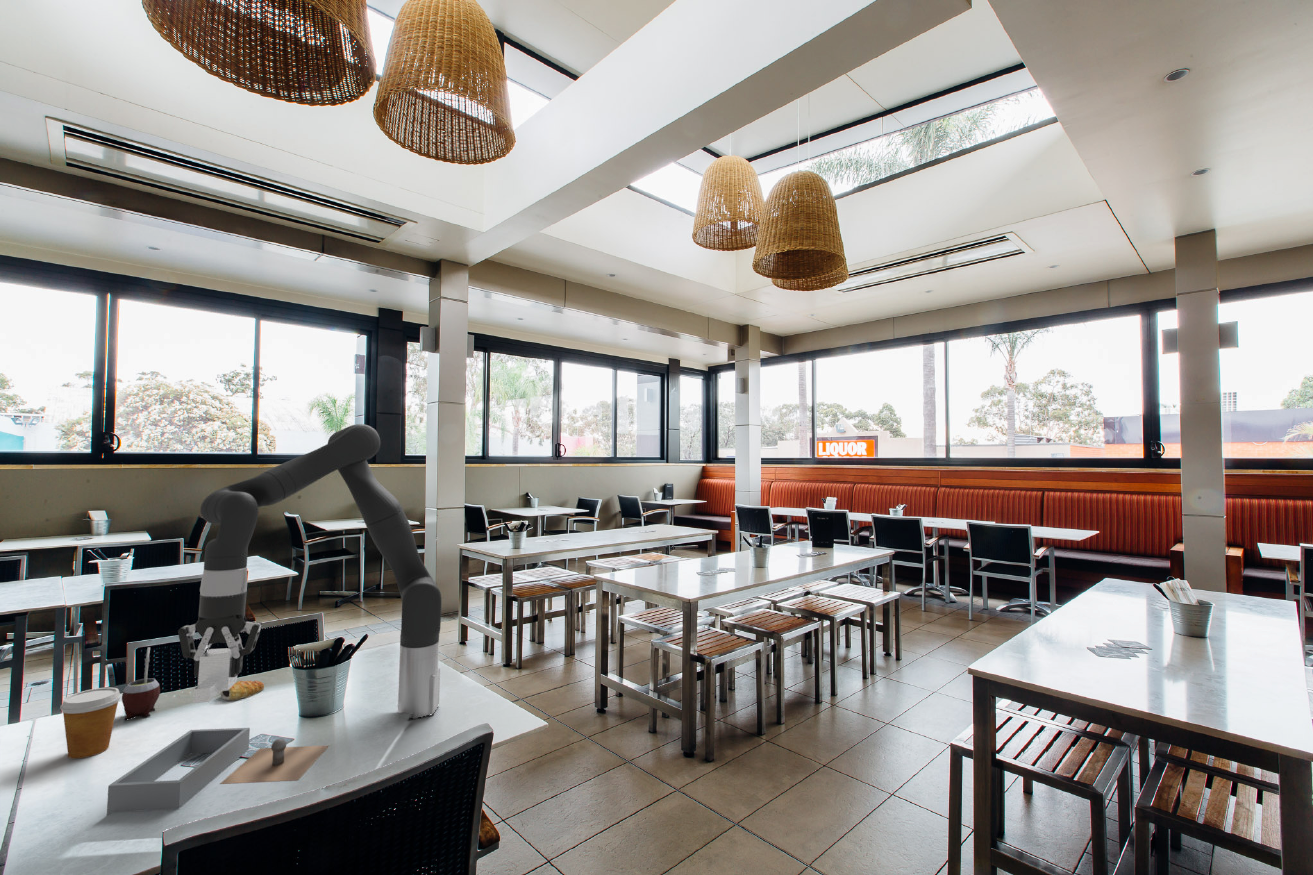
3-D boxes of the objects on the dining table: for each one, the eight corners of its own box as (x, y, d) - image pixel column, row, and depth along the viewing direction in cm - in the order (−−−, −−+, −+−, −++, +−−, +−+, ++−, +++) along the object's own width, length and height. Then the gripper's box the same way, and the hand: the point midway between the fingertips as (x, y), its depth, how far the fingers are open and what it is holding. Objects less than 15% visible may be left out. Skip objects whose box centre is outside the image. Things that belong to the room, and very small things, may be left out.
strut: (218, 674, 123) (220, 641, 124) (246, 672, 125) (248, 639, 125) (184, 703, 108) (187, 666, 109) (216, 701, 110) (219, 664, 110)
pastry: (256, 686, 164) (256, 672, 164) (269, 691, 160) (269, 677, 160) (217, 698, 156) (218, 683, 156) (230, 703, 152) (231, 689, 152)
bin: (189, 758, 124) (190, 729, 124) (248, 756, 125) (249, 727, 125) (106, 820, 102) (108, 785, 103) (178, 816, 104) (180, 782, 104)
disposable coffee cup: (129, 745, 129) (132, 690, 130) (74, 766, 120) (77, 706, 121) (101, 738, 132) (104, 684, 133) (46, 758, 123) (49, 700, 124)
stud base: (329, 752, 127) (330, 722, 127) (297, 787, 113) (298, 754, 114) (260, 755, 126) (261, 725, 126) (219, 791, 112) (221, 758, 112)
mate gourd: (133, 723, 140) (136, 659, 140) (111, 718, 142) (114, 655, 143) (167, 710, 147) (170, 650, 148) (146, 706, 149) (149, 646, 150)
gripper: (270, 585, 123) (265, 668, 122) (189, 588, 119) (182, 673, 118) (259, 593, 116) (253, 680, 115) (172, 596, 112) (165, 687, 111)
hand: (217, 676), depth 117 cm, fingers closed on strut, 5 cm apart
